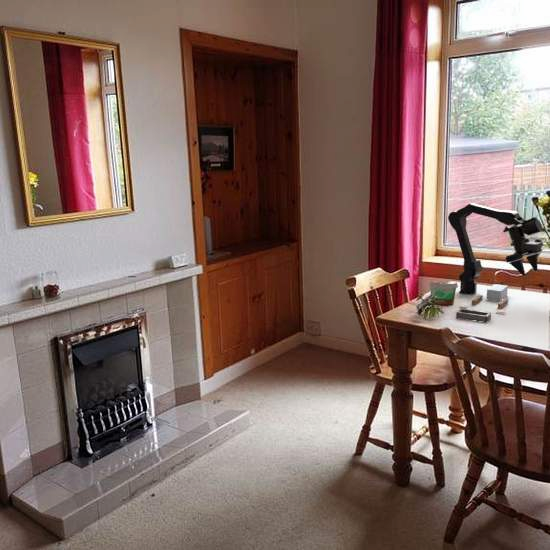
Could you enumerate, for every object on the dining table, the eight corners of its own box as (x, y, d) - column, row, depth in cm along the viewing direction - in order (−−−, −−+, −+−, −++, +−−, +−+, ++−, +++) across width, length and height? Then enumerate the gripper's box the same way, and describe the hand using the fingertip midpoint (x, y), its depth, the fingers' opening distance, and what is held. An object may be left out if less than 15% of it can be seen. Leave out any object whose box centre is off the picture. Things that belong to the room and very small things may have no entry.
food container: (426, 306, 243) (427, 283, 241) (427, 302, 248) (428, 280, 246) (456, 308, 239) (457, 285, 237) (456, 304, 245) (458, 282, 242)
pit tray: (456, 318, 225) (456, 312, 224) (460, 314, 230) (460, 308, 229) (486, 322, 218) (487, 316, 217) (490, 318, 223) (491, 312, 222)
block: (486, 300, 251) (487, 289, 250) (493, 294, 261) (494, 284, 260) (500, 302, 248) (501, 291, 247) (507, 296, 257) (507, 285, 256)
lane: (471, 304, 243) (472, 300, 243) (478, 299, 252) (478, 294, 252) (501, 308, 236) (501, 304, 236) (507, 302, 245) (507, 298, 245)
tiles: (459, 308, 238) (459, 306, 238) (461, 306, 240) (461, 304, 240) (503, 314, 228) (503, 312, 228) (505, 312, 230) (505, 310, 230)
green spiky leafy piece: (419, 327, 231) (417, 300, 236) (446, 325, 227) (444, 297, 232) (414, 318, 222) (412, 290, 227) (442, 316, 218) (440, 287, 223)
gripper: (521, 237, 232) (534, 273, 231) (546, 230, 242) (558, 264, 241) (499, 244, 241) (511, 279, 240) (524, 236, 251) (536, 269, 250)
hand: (530, 272), depth 243 cm, fingers open, 9 cm apart
